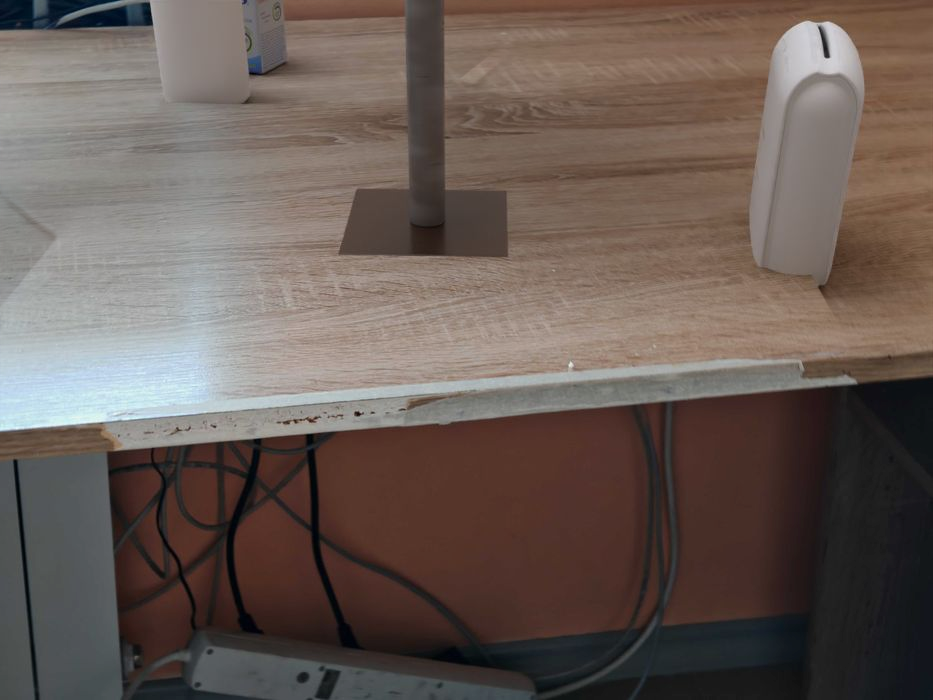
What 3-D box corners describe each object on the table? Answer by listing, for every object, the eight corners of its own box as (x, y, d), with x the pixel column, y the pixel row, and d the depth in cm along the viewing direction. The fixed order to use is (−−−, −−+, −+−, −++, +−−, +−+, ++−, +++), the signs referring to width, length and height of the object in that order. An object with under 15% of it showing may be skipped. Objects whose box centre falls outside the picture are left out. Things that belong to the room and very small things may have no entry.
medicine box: (179, 65, 90) (165, -43, 86) (208, 51, 94) (196, -54, 89) (263, 75, 88) (253, -36, 83) (289, 61, 92) (281, -46, 87)
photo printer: (743, 212, 65) (774, 1, 59) (817, 218, 64) (856, 5, 58) (747, 291, 56) (784, 53, 50) (833, 298, 56) (882, 59, 49)
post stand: (339, 274, 58) (318, -62, 49) (357, 206, 65) (342, -94, 57) (507, 276, 58) (517, -60, 49) (506, 208, 65) (514, -92, 56)
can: (191, 121, 78) (168, -53, 72) (149, 99, 83) (124, -67, 76) (267, 102, 82) (252, -64, 76) (223, 82, 86) (205, -77, 80)
